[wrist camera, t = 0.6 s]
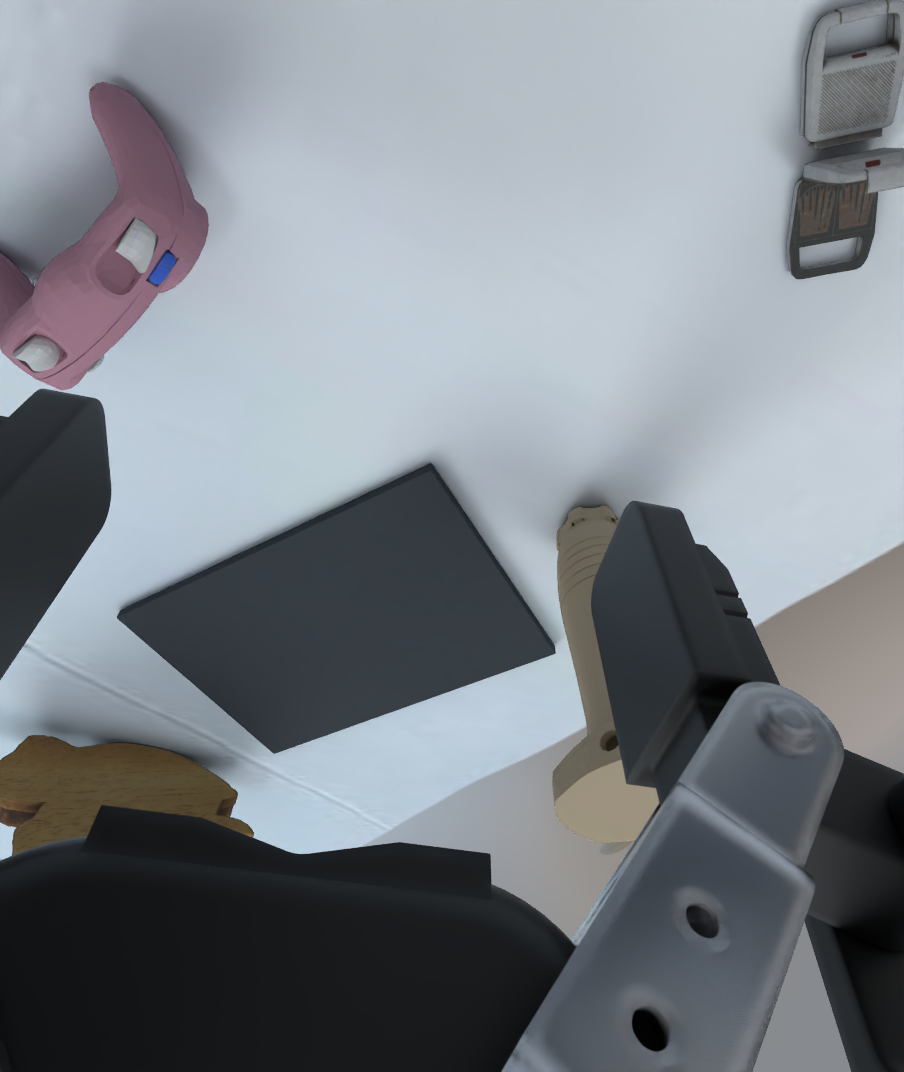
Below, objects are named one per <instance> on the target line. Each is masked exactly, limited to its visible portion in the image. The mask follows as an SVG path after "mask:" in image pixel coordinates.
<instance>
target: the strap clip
mask: <svg viewBox="0 0 904 1072" xmlns="http://www.w3.org/2000/svg"><path fill="white" fill-rule="evenodd" d="M883 14H888V28H887V39H886V45H882V46H877V47H873V48H868V49H864V50H859V51H855V52H850V53H846V54H841V55H836V56H832V57H827V58H824V52H825V46H826V39H827V33H828V31H829V29H830V28H831V27H833V26H836V25H839V24H843V23H847V22H852V21H856V20H861V19H865V18H870V17H874V16H879V15H883ZM903 74H904V1H903V0H876V1H871V2H867V3H863V4H858V5H854V6H849V7H845V8H841V9H836V10H835V11H834V12H830V13H825V14H823V15H821V16H820V17H818V18H817V20H816V21H815V22H814V24H813V26H812V28H811V30H810V33H809V37H808V41H807V45H806V49H805V53H804V57H803V60H802V82H801V118H800V134H801V136H802V137H803V138H805V139H807V140H809V144H808V145H809V146H814V148H815V149H821V148H826V147H831V146H836V145H841V144H846V143H851V142H856V141H860V140H865V139H870V138H875V137H880V136H882V129H883V128H885V127H887V126H889V125H891V124H892V122H893V120H894V117H895V113H896V108H897V103H898V98H899V93H900V89H901V84H902V79H903ZM900 187H904V148H878V149H873V150H868V151H863V152H859V153H854V154H849V155H844V156H839V157H834V158H829V159H824V160H819V161H814V162H809V163H807V164H805V166H804V174H803V179H801V180H799V181H798V182H797V183H796V185H795V190H794V197H793V204H792V211H791V218H790V225H789V232H788V239H787V246H786V247H787V256H788V264H789V270H790V272H791V274H792V275H793V276H794V277H795V278H796V279H805V278H811V277H816V276H821V275H826V274H831V273H837V272H843V271H849V270H855V269H857V268H859V267H861V266H862V265H863V264H864V262H865V261H866V259H867V257H868V254H869V251H870V247H871V244H872V240H873V237H874V233H875V222H876V211H877V200H878V192H879V191H885V190H890V189H895V188H900ZM854 237H858V241H857V246H856V251H855V254H854V256H853V257H852V258H849V259H846V260H841V261H835V262H830V263H824V264H819V265H814V266H808V267H800V261H799V248H800V247H806V246H811V245H816V244H822V243H827V242H833V241H838V240H843V239H849V238H854Z"/></svg>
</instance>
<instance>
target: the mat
mask: <svg viewBox="0 0 904 1072" xmlns="http://www.w3.org/2000/svg"><path fill="white" fill-rule="evenodd" d="M117 619H119V620H120V621H121V622H122V623H123V624H124V625H126V626H127V627H128V628H129V629H130V630H131V631H133V632H134V633H135V634H136V635H137V636H138V637H139V638H141V639H142V640H143V641H144V642H145V643H146V644H148V645H149V646H150V647H151V648H152V649H153V650H155V651H156V652H157V653H158V654H159V655H160V656H161V657H163V658H164V659H165V660H166V661H167V662H168V663H170V664H171V665H172V666H173V667H174V668H175V669H176V670H178V671H179V672H180V673H181V674H182V675H183V676H185V677H186V678H187V679H188V680H189V681H190V682H192V683H193V684H194V685H195V686H196V687H197V688H198V689H200V690H201V691H202V692H203V693H204V694H205V695H207V696H208V697H209V698H210V699H211V700H212V701H214V702H215V703H216V704H217V705H218V706H219V707H220V708H222V709H223V710H224V711H225V712H226V713H227V714H229V715H230V716H231V717H232V718H233V719H234V720H235V721H237V722H238V723H239V724H240V725H241V726H242V727H244V728H245V729H246V730H247V731H248V732H249V733H251V734H252V735H253V736H254V737H255V738H256V739H257V740H259V741H260V742H261V743H262V744H263V745H264V746H266V747H267V748H268V749H269V750H270V751H271V752H273V753H274V754H275V753H278V752H281V751H283V750H286V749H289V748H292V747H295V746H297V745H300V744H303V743H306V742H309V741H311V740H314V739H317V738H320V737H323V736H325V735H328V734H331V733H334V732H337V731H340V730H342V729H345V728H348V727H351V726H354V725H356V724H359V723H362V722H365V721H368V720H370V719H373V718H376V717H379V716H382V715H384V714H387V713H390V712H393V711H396V710H399V709H401V708H404V707H407V706H410V705H413V704H415V703H418V702H421V701H424V700H427V699H429V698H432V697H435V696H438V695H441V694H443V693H446V692H449V691H452V690H455V689H457V688H460V687H463V686H466V685H469V684H472V683H474V682H477V681H480V680H483V679H486V678H488V677H491V676H494V675H497V674H500V673H502V672H505V671H508V670H511V669H514V668H516V667H519V666H522V665H525V664H528V663H531V662H533V661H536V660H539V659H542V658H545V657H547V656H550V655H553V654H555V653H556V652H555V646H554V644H553V643H552V641H551V640H550V638H549V637H548V635H547V634H546V633H545V631H544V630H543V628H542V627H541V625H540V624H539V622H538V621H537V619H536V618H535V616H534V615H533V613H532V612H531V610H530V609H529V607H528V606H527V604H526V603H525V601H524V600H523V598H522V597H521V595H520V594H519V592H518V591H517V589H516V588H515V587H514V585H513V584H512V582H511V581H510V579H509V578H508V576H507V575H506V573H505V572H504V570H503V569H502V567H501V566H500V564H499V563H498V561H497V560H496V558H495V557H494V555H493V554H492V552H491V551H490V549H489V548H488V546H487V545H486V543H485V542H484V541H483V539H482V538H481V536H480V535H479V533H478V532H477V530H476V529H475V527H474V526H473V524H472V523H471V521H470V520H469V518H468V517H467V515H466V514H465V512H464V511H463V509H462V508H461V506H460V505H459V503H458V502H457V500H456V499H455V497H454V496H453V495H452V493H451V492H450V490H449V489H448V487H447V486H446V484H445V483H444V481H443V480H442V478H441V477H440V475H439V474H438V472H437V471H436V469H435V468H434V466H433V465H432V464H429V465H427V466H425V467H423V468H421V469H419V470H416V471H414V472H412V473H410V474H408V475H406V476H404V477H402V478H400V479H397V480H395V481H393V482H391V483H389V484H387V485H385V486H383V487H380V488H378V489H376V490H374V491H372V492H370V493H368V494H366V495H364V496H361V497H359V498H357V499H355V500H353V501H351V502H349V503H347V504H345V505H342V506H340V507H338V508H336V509H334V510H332V511H330V512H328V513H325V514H323V515H321V516H319V517H317V518H315V519H313V520H311V521H309V522H306V523H304V524H302V525H300V526H298V527H296V528H294V529H292V530H290V531H287V532H285V533H283V534H281V535H279V536H277V537H275V538H273V539H270V540H268V541H266V542H264V543H262V544H260V545H258V546H256V547H254V548H251V549H249V550H247V551H245V552H243V553H241V554H239V555H237V556H235V557H232V558H230V559H228V560H226V561H224V562H222V563H220V564H218V565H215V566H213V567H211V568H209V569H207V570H205V571H203V572H201V573H199V574H196V575H194V576H192V577H190V578H188V579H186V580H184V581H182V582H180V583H177V584H175V585H173V586H171V587H169V588H167V589H165V590H163V591H160V592H158V593H156V594H154V595H152V596H150V597H148V598H146V599H144V600H141V601H139V602H137V603H135V604H133V605H131V606H129V607H127V608H125V609H122V610H120V612H119V614H118V616H117Z"/></svg>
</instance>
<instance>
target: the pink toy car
mask: <svg viewBox="0 0 904 1072" xmlns="http://www.w3.org/2000/svg"><path fill="white" fill-rule="evenodd" d="M89 99H90V106H91V112H92V117H93V120H94V122H95V124H96V126H97V128H98V130H99V132H100V134H101V137H102V139H103V141H104V143H105V146H106V148H107V150H108V152H109V155H110V157H111V160H112V163H113V166H114V169H115V172H116V175H117V179H118V184H119V187H118V193H117V195H116V197H115V198H114V200H113V201H112V203H111V204H110V205H109V206H108V207H107V208H106V209H105V211H104V212H103V213H102V214H101V215H100V216H99V218H98V219H97V220H96V221H95V222H94V224H93V225H92V226H91V228H90V229H89V230H88V231H87V233H86V234H85V235H84V237H83V238H82V239H81V240H80V241H79V242H77V243H76V244H74V245H72V246H71V247H69V248H67V249H66V250H65V251H63V252H62V253H60V254H59V255H58V256H56V257H55V258H53V259H52V260H51V262H50V263H49V264H48V265H47V266H46V267H45V268H44V269H43V270H42V272H41V274H40V276H39V279H38V281H37V283H36V285H35V287H34V286H33V284H32V283H31V282H30V281H29V279H28V278H27V277H26V276H25V275H24V274H23V273H22V272H21V271H20V270H19V269H18V268H17V267H16V266H15V265H14V264H13V263H12V262H11V261H10V260H9V259H8V258H6V257H5V256H4V255H2V254H1V253H0V349H1V351H2V352H3V354H4V355H6V356H7V357H8V358H9V359H10V360H11V361H12V362H13V363H14V364H15V365H16V366H18V367H19V368H21V369H22V370H23V371H25V372H26V373H27V374H29V375H31V376H32V377H33V378H35V379H37V380H39V381H42V382H44V383H46V384H48V385H51V386H53V387H55V388H57V389H60V390H66V389H70V388H72V387H73V386H75V385H76V384H77V383H79V382H80V380H81V379H82V378H83V377H84V375H85V374H86V373H87V372H91V371H93V370H95V369H96V368H97V367H98V366H99V365H100V364H101V363H102V361H103V358H104V354H105V353H106V352H107V351H108V350H109V349H110V348H111V347H112V346H114V345H115V344H116V343H117V342H118V341H119V340H120V339H121V338H122V336H123V335H124V334H125V333H126V332H127V331H128V330H129V329H130V328H131V327H132V326H133V325H134V324H135V322H136V321H137V320H138V319H139V318H140V317H141V315H142V314H143V313H144V312H145V310H146V309H147V308H148V307H149V305H150V304H151V303H152V301H153V300H154V299H155V297H156V296H157V294H158V293H163V292H166V291H168V290H170V289H172V288H174V287H175V286H176V285H178V284H179V283H180V282H182V280H183V279H184V278H185V277H186V276H187V275H188V273H189V272H190V271H191V269H192V268H193V266H194V264H195V263H196V261H197V260H198V258H199V256H200V253H201V251H202V249H203V247H204V244H205V241H206V237H207V234H208V226H209V223H208V215H207V212H206V210H205V208H204V207H202V206H201V205H200V204H199V203H198V202H197V201H196V200H195V199H194V196H193V193H192V190H191V188H190V185H189V183H188V181H187V179H186V177H185V174H184V172H183V170H182V168H181V166H180V163H179V161H178V159H177V157H176V155H175V153H174V151H173V149H172V148H171V146H170V144H169V142H168V141H167V139H166V137H165V135H164V134H163V132H162V131H161V129H160V128H159V127H158V125H157V124H156V122H155V121H154V119H153V118H152V117H151V116H150V115H149V113H148V112H147V111H146V110H145V109H144V107H143V106H142V105H141V104H140V103H139V102H138V101H137V100H136V99H135V98H134V97H133V96H132V95H131V94H130V93H129V92H127V91H126V90H123V89H121V88H120V87H118V86H116V85H112V84H109V83H105V82H101V83H97V84H95V85H94V86H93V87H92V88H91V89H90V92H89Z"/></svg>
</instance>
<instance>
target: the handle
mask: <svg viewBox="0 0 904 1072" xmlns="http://www.w3.org/2000/svg"><path fill="white" fill-rule="evenodd" d="M618 523H619V521H618V520H617V519H616V517H615V514H614V512H613V511H612V509H611V508H609V507H607V506H604V505H601V506H600V507H596V508H582V507H577V508H574V509H572V510H571V511H570V512H569V513H568V519H567V521H566V523H565V524H564V525H563V526H562V527H561V528H559V530H558V531H557V550H558V561H557V579H558V593H559V601H560V608H561V614H562V619H563V623H564V628H565V632H566V636H567V640H568V644H569V648H570V652H571V656H572V660H573V664H574V668H575V672H576V677H577V681H578V686H579V690H580V695H581V700H582V704H583V709H584V714H585V718H586V724H587V736H586V737H585V738H584V739H583V740H582V741H581V742H580V743H579V744H577V745H576V747H574V748H573V750H571V751H570V753H569V754H567V756H566V757H565V758H564V759H563V760H562V761H561V762H560V764H559V765H558V766H557V767H556V769H555V770H554V771H553V780H552V785H553V796H554V806H555V812H556V815H557V817H558V818H559V820H560V821H561V822H562V823H563V824H564V826H565V827H566V828H568V829H570V830H571V831H572V832H574V833H575V834H576V835H579V836H581V837H583V838H585V839H588V840H591V841H595V842H600V843H612V842H624V841H635V840H636V838H637V836H638V835H639V833H640V832H641V830H642V828H643V827H644V825H645V824H646V822H647V821H648V819H649V817H650V816H651V814H652V813H653V811H654V810H655V808H656V807H657V805H658V804H659V799H658V795H657V791H656V788H651V787H644V786H636V785H629V784H626V779H625V775H624V770H623V765H622V760H621V755H620V750H619V745H618V740H617V735H616V730H615V725H614V720H613V716H612V711H611V706H610V701H609V696H608V691H607V686H606V681H605V676H604V671H603V666H602V661H601V656H600V652H599V647H598V642H597V637H596V632H595V627H594V622H593V617H592V612H591V595H592V588H593V583H594V579H595V576H596V574H597V571H598V569H599V566H600V564H601V562H602V560H603V557H604V555H605V553H606V550H607V548H608V546H609V543H610V541H611V539H612V537H613V534H614V532H615V530H616V527H617V525H618Z"/></svg>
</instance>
